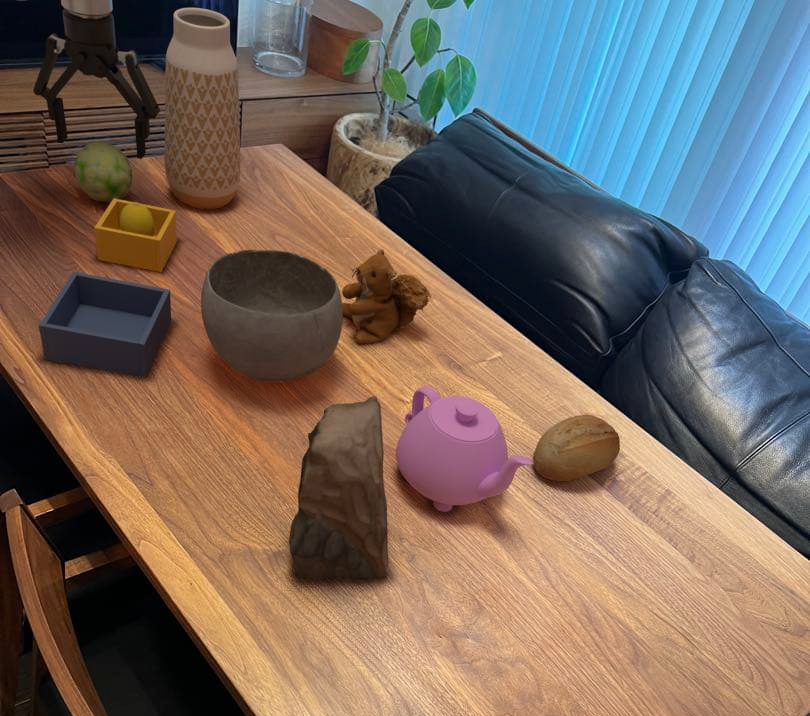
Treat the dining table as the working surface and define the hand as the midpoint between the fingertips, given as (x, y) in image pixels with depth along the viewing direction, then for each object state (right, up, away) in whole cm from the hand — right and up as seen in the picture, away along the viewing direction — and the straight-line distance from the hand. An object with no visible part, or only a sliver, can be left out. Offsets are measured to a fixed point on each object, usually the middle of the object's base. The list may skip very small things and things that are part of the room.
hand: (102, 147), depth 141 cm
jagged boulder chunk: (+45, -71, -39) cm, 93 cm away
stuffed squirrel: (+49, -33, -4) cm, 59 cm away
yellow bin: (+7, -19, -2) cm, 20 cm away
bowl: (+32, -42, -16) cm, 55 cm away
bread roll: (+79, -58, -19) cm, 99 cm away
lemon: (+7, -19, -3) cm, 20 cm away
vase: (+14, -3, +14) cm, 20 cm away
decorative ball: (-2, -6, +7) cm, 10 cm away
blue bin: (+9, -39, -19) cm, 44 cm away
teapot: (+60, -61, -27) cm, 90 cm away
